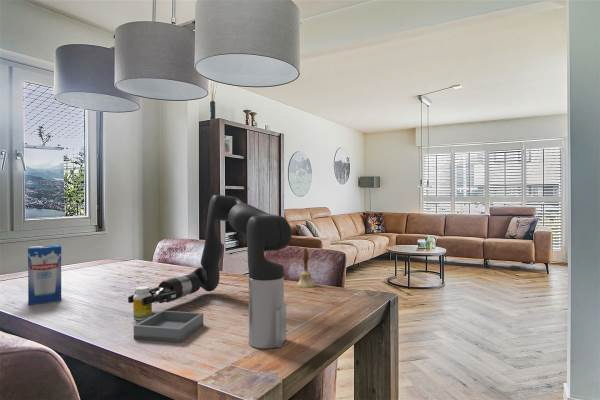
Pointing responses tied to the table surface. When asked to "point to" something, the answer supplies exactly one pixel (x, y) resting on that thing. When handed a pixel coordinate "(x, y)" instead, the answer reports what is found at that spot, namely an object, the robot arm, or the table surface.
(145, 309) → the supplement bottle
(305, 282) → the hand bell
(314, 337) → the table surface
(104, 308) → the table surface
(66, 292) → the table surface
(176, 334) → the tray
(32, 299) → the milk carton
